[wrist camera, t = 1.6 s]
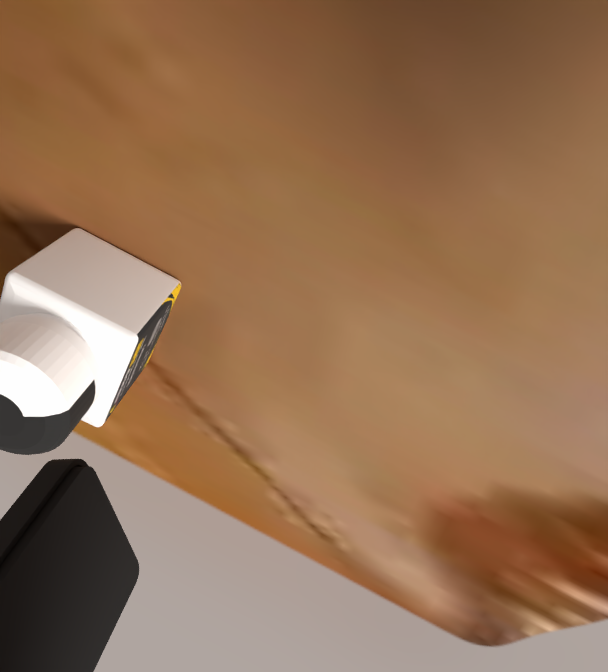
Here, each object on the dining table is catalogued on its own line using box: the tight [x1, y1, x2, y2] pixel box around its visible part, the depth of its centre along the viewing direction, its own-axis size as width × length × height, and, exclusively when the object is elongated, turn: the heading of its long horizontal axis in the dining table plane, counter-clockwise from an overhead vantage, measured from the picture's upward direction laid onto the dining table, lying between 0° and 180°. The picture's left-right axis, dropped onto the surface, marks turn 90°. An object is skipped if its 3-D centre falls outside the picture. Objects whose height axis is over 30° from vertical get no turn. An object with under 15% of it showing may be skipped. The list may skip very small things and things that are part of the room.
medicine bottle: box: [0, 228, 181, 455], centre depth 31 cm, size 7×7×12 cm
